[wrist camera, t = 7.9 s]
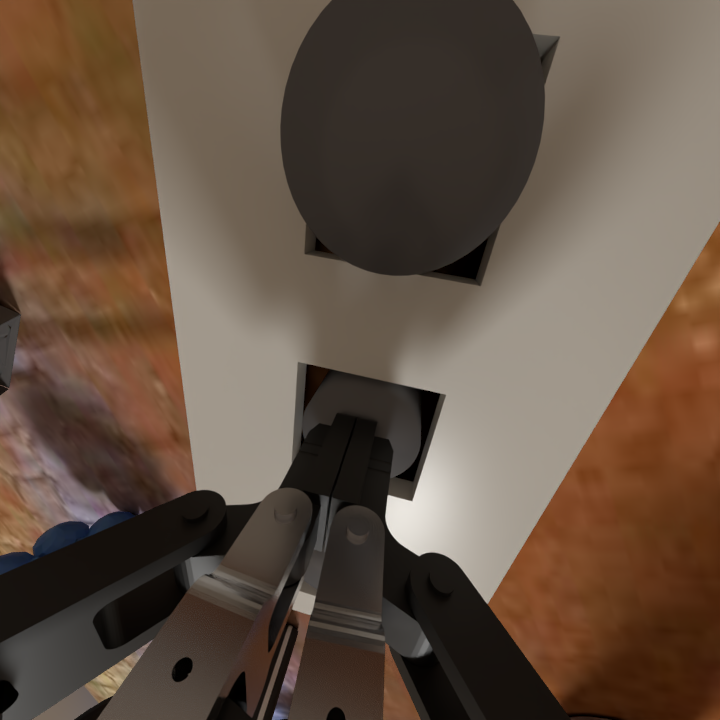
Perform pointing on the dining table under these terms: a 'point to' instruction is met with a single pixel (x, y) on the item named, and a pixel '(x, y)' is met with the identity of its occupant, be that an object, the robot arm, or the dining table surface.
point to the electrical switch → (7, 344)
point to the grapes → (60, 539)
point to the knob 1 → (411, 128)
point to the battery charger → (276, 674)
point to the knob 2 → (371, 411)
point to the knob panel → (431, 289)
